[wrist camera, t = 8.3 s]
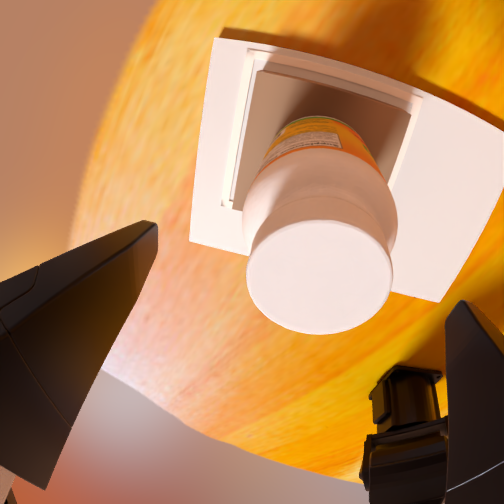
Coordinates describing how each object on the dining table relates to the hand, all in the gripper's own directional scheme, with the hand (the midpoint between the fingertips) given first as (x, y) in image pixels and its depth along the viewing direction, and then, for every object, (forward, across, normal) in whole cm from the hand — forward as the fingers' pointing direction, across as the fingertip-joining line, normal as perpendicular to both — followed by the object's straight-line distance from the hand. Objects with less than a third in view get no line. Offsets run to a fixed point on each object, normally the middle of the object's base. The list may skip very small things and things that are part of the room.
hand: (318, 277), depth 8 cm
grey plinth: (+12, 0, 0) cm, 12 cm away
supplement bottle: (+10, 0, 0) cm, 10 cm away
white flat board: (+12, -3, +2) cm, 13 cm away
